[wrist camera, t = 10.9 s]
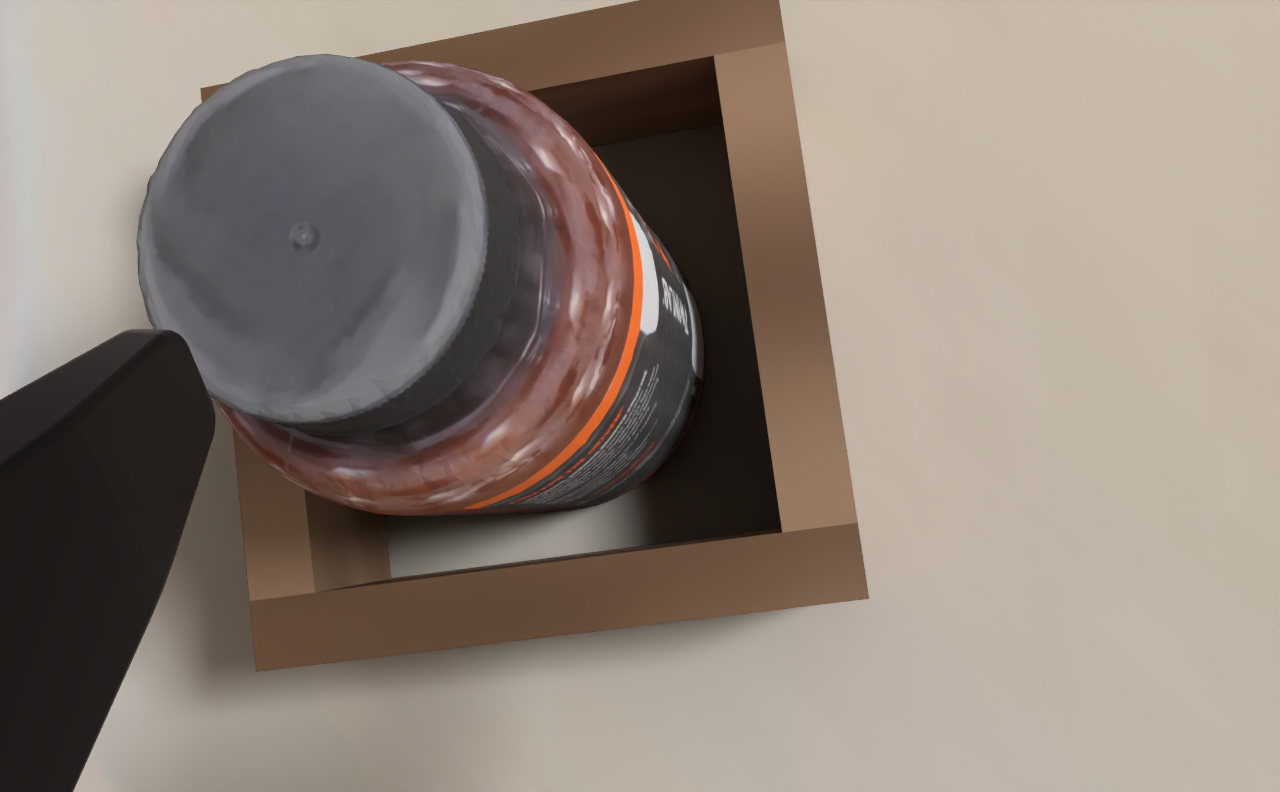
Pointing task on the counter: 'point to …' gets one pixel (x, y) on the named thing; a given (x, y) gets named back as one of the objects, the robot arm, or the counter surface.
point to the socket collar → (785, 345)
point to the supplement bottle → (419, 290)
